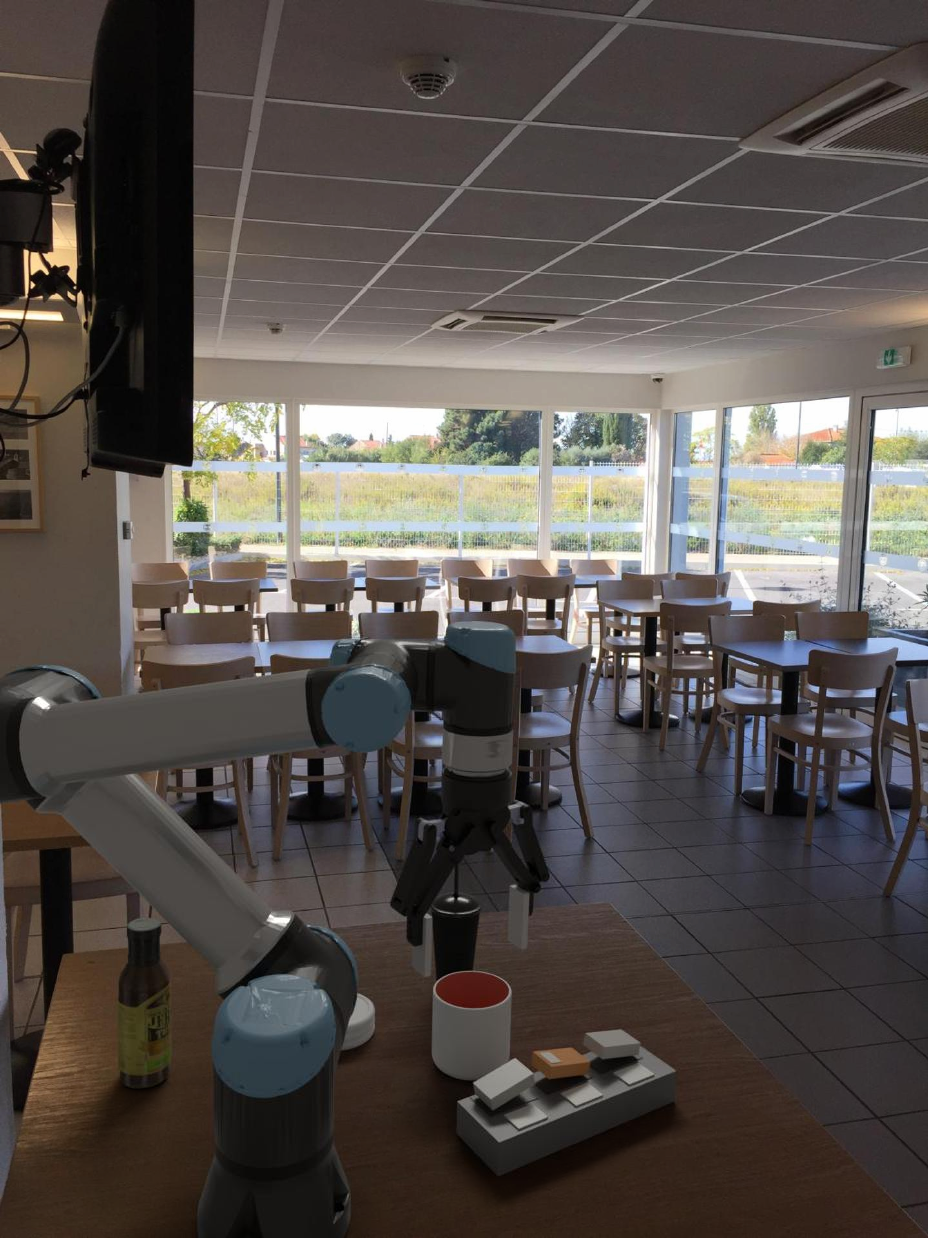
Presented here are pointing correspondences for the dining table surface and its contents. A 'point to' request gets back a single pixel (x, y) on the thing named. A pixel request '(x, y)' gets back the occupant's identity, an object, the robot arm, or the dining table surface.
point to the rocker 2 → (560, 1063)
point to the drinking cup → (455, 930)
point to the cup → (471, 1024)
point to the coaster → (360, 1024)
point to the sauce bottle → (144, 1008)
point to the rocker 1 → (504, 1084)
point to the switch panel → (564, 1109)
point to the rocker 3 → (611, 1044)
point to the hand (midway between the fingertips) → (470, 957)
